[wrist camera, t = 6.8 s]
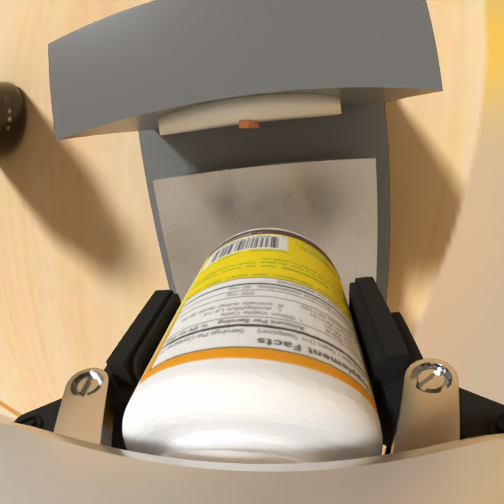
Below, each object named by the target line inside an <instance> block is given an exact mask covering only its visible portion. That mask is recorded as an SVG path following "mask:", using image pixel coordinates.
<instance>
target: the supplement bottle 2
mask: <svg viewBox="0 0 504 504" xmlns="http://www.w3.org/2000/svg"><path fill="white" fill-rule="evenodd" d="M122 434H123V439H124V443H125V446H126V448H127V451H133V452H138V453H144V454H150V455H156V456H163V457H170V458H178V459H187V460H196V461H207V462H221V463H241V464H295V463H316V462H329V461H340V460H350V459H358V458H366V457H373V456H379V455H381V454H382V447H383V439H382V431H381V425H380V420H379V416H378V412H377V408H376V403H375V399H374V396H373V392H372V388H371V384H370V380H369V377H368V373H367V369H366V365H365V361H364V358H363V354H362V350H361V347H360V344H359V340H358V337H357V333H356V330H355V326H354V323H353V319H352V316H351V312H350V309H349V306H348V303H347V300H346V297H345V293H344V290H343V287H342V284H341V280H340V277H339V275H338V273H337V270H336V268H335V266H334V264H333V263H332V261H331V260H330V258H329V257H328V255H327V254H326V253H325V252H324V251H323V250H322V249H321V248H320V247H319V246H318V245H316V244H315V243H314V242H312V241H311V240H310V239H308V238H306V237H304V236H302V235H300V234H297V233H295V232H292V231H288V230H284V229H279V228H257V229H251V230H247V231H244V232H241V233H238V234H236V235H234V236H232V237H230V238H229V239H227V240H225V241H224V242H223V243H221V244H220V245H219V246H218V247H217V248H216V249H215V250H214V251H213V252H212V253H211V254H210V256H209V257H208V258H207V260H206V261H205V263H204V264H203V266H202V268H201V270H200V271H199V273H198V275H197V277H196V278H195V280H194V282H193V284H192V285H191V287H190V289H189V291H188V292H187V294H186V296H185V298H184V300H183V301H182V303H181V305H180V307H179V308H178V310H177V312H176V314H175V316H174V318H173V320H172V321H171V323H170V325H169V327H168V329H167V331H166V333H165V334H164V336H163V338H162V340H161V342H160V344H159V346H158V348H157V350H156V351H155V353H154V355H153V357H152V359H151V361H150V363H149V364H148V366H147V368H146V370H145V372H144V374H143V376H142V378H141V380H140V381H139V383H138V385H137V387H136V389H135V391H134V393H133V395H132V397H131V399H130V401H129V402H128V405H127V407H126V410H125V413H124V417H123V421H122Z"/></svg>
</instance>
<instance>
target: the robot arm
mask: <svg viewBox="0 0 504 504" xmlns="http://www.w3.org/2000/svg"><path fill="white" fill-rule="evenodd" d="M180 305H181V301H180V297H179V295H178V294H174V292H173V291H172V290H156V291H155V292H154V294H153V295H152V296H151V298H150V299H149V301H148V302H147V303H146V305H145V306H144V308H143V309H142V310H141V312H140V313H139V315H138V316H137V318H136V319H135V320H134V322H133V323H132V325H131V326H130V328H129V329H128V330H127V332H126V333H125V335H124V336H123V338H122V339H121V341H120V342H119V343H118V345H117V346H116V348H115V349H114V351H113V352H112V354H111V355H110V357H109V358H108V360H107V361H106V363H107V366H106V368H105V369H104V370H102V369H99V368H89V369H85V370H82V371H80V372H78V373H76V374H75V375H74V376H72V377H71V379H70V380H69V381H68V383H67V385H66V388H65V391H64V395H63V398H61V399H59V400H57V401H54V402H52V403H50V404H47V405H45V406H42V407H40V408H37V409H35V410H33V411H30V412H28V413H25V414H23V415H21V416H20V417H18V418H17V419H16V420H15V422H14V423H13V422H3V421H0V504H504V405H502V404H500V403H497V402H495V401H492V400H489V399H487V398H484V397H481V396H479V395H477V394H474V393H472V392H469V391H466V390H464V389H461V388H459V387H458V377H457V373H456V371H455V370H454V369H453V367H451V366H450V365H449V364H447V363H446V362H443V361H441V360H437V359H423V357H422V355H421V353H420V351H419V349H418V347H417V345H416V343H415V341H414V339H413V337H412V335H411V333H410V331H409V329H408V327H407V325H406V323H405V321H404V319H403V317H402V315H401V314H400V313H399V312H394V313H390V310H389V308H388V306H387V304H386V302H385V300H384V298H383V296H382V294H381V292H380V290H379V288H378V286H377V284H376V282H375V280H374V278H373V277H372V276H370V277H359V278H356V279H355V282H352V283H350V285H349V309H350V312H351V316H352V319H353V323H354V326H355V330H356V333H357V337H358V340H359V344H360V347H361V350H362V354H363V358H364V361H365V365H366V369H367V373H368V377H369V380H370V384H371V388H372V392H373V396H374V399H375V403H376V408H377V412H378V416H379V420H380V425H381V431H382V439H383V444H384V445H385V449H384V454H383V455H379V456H373V457H366V458H358V459H350V460H340V461H329V462H316V463H295V464H241V463H221V462H207V461H196V460H187V459H178V458H170V457H163V456H156V455H150V454H144V453H138V452H133V451H127V448H126V446H125V443H124V439H123V434H122V421H123V417H124V413H125V410H126V407H127V405H128V402H129V401H130V399H131V397H132V395H133V393H134V391H135V389H136V387H137V385H138V383H139V381H140V380H141V378H142V376H143V374H144V372H145V370H146V368H147V366H148V364H149V363H150V361H151V359H152V357H153V355H154V353H155V351H156V350H157V348H158V346H159V344H160V342H161V340H162V338H163V336H164V334H165V333H166V331H167V329H168V327H169V325H170V323H171V321H172V320H173V318H174V316H175V314H176V312H177V310H178V308H179V307H180Z"/></svg>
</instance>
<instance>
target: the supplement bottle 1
mask: <svg viewBox="0 0 504 504" xmlns="http://www.w3.org/2000/svg"><path fill="white" fill-rule="evenodd" d="M24 125H25V104H24V100H23V97H22V94H21V92H20V91H19V89H18V88H17V87H16V86H15V85H14V84H12V83H10V82H0V160H1V159H3V158H5V157H7V156H8V155H10V154H11V153H12V152H13V151H14V149H15V148H16V146H17V145H18V143H19V141H20V139H21V136H22V133H23V130H24Z"/></svg>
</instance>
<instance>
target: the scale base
mask: <svg viewBox="0 0 504 504" xmlns="http://www.w3.org/2000/svg"><path fill="white" fill-rule="evenodd" d="M48 57H49V78H50V92H51V103H52V113H53V121H54V129H55V137H56V140H62V139H69V138H76V137H84V136H92V135H100V134H109V133H119V132H131V131H138V132H139V138H140V145H141V151H142V158H143V164H144V170H145V175H146V181H147V186H148V192H149V197H150V202H151V208H152V213H153V218H154V222H155V227H156V232H157V237H158V241H159V246H160V250H161V255H162V259H163V263H164V268H165V272H166V276H167V280H168V284H169V288H170V290H172V291H173V292H174V294H177V293H176V289H175V285H174V281H173V276H172V272H171V268H170V263H169V259H168V255H167V250H166V245H165V241H164V236H163V231H162V226H161V222H160V217H159V211H158V206H157V201H156V196H155V190H154V185H153V180H155V179H158V178H160V177H166V176H172V175H179V174H185V173H192V172H199V171H206V170H214V169H222V168H230V167H238V166H247V165H256V164H265V163H276V162H287V161H299V160H312V159H327V158H344V157H367V156H371V157H373V158H376V178H377V271H376V284H377V286H378V288H379V290H380V292H381V294H382V296H383V298H384V300H385V302H386V299H387V285H388V269H389V247H390V175H389V153H388V137H387V124H386V113H385V103H384V102H387V101H392V100H397V99H401V98H406V97H411V96H417V95H422V94H428V93H433V92H439V91H443V89H442V81H441V74H440V67H439V60H438V54H437V49H436V43H435V38H434V33H433V28H432V24H431V19H430V15H429V11H428V7H427V3H426V0H155V1H152V2H149V3H145V4H142V5H139V6H136V7H133V8H130V9H127V10H125V11H122V12H119V13H116V14H114V15H111V16H109V17H106V18H104V19H101V20H99V21H96V22H94V23H91V24H89V25H87V26H85V27H82V28H80V29H78V30H76V31H74V32H71V33H69V34H67V35H65V36H63V37H61V38H59V39H57V40H55V41H53V42H51V43H49V44H48Z"/></svg>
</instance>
